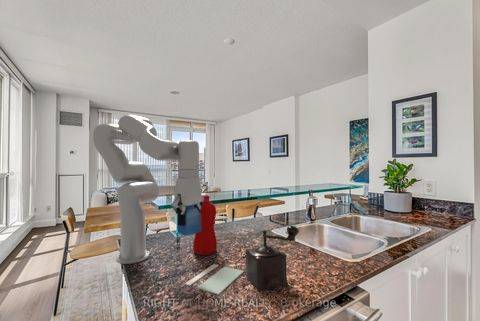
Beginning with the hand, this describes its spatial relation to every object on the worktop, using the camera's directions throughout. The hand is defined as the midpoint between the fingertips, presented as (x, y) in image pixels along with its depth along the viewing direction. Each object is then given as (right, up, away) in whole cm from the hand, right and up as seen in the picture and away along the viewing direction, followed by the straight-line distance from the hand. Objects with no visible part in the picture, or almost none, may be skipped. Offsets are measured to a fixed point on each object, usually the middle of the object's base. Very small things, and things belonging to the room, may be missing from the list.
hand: (189, 222), depth 83 cm
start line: (+6, -17, -3) cm, 19 cm away
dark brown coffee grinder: (+30, -17, -7) cm, 35 cm away
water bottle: (+2, -18, +18) cm, 26 cm away
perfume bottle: (0, -4, 0) cm, 4 cm away
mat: (+13, -17, -7) cm, 23 cm away
